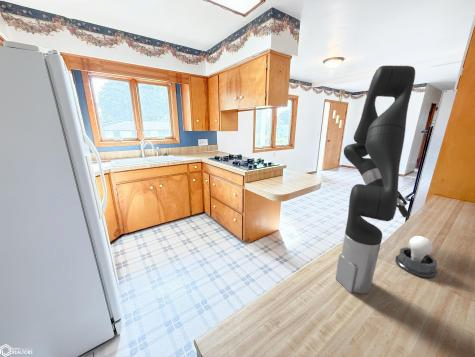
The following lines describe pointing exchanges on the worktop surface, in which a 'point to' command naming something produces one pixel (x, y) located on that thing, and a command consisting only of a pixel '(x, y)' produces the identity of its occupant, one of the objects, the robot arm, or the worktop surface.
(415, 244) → the lightbulb
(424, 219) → the worktop surface
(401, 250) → the socket holder
